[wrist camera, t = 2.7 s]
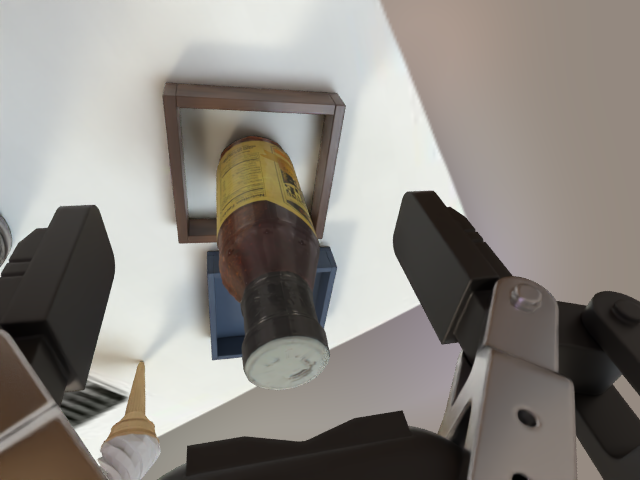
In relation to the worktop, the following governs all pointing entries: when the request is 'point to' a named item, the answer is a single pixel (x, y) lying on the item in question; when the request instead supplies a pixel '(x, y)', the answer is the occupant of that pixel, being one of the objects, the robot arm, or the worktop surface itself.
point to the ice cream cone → (131, 438)
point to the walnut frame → (249, 101)
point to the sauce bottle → (269, 263)
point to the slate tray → (228, 311)
